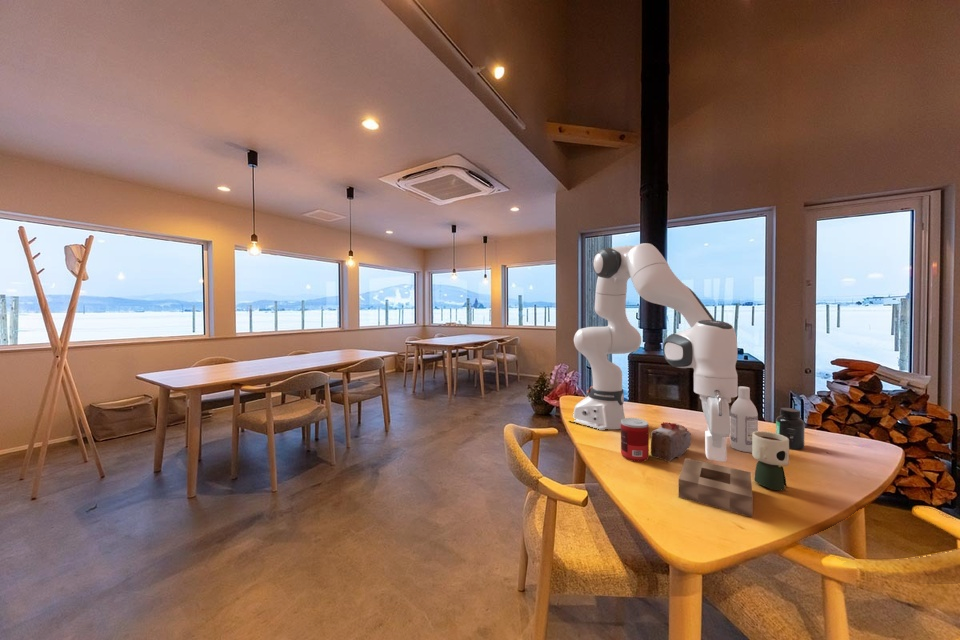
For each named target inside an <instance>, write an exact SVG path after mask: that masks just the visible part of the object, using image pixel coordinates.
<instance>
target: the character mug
mask: <svg viewBox="0 0 960 640" xmlns="http://www.w3.org/2000/svg"><path fill="white" fill-rule="evenodd" d="M789 453H790V449H789V439H788V438H787V437H785V436H783V435H780V434H777V433H776V432H770V431H764V430H760V431H759V430H758V431H756V432H753V433H752V453H751V454H752V457H753V458H754V459H755V460H757V462H756V465H755V471H754V479H753V480H754V482H755V483H757V484H758V485H761V486H762V487H765V488H767V489H770V490H774V491H785V490H786V489H788V487H787V480H786V479H787V478H786V474H785V469H784V467H783V466H788V465H789V463H790V457H789V455H790V454H789Z"/></svg>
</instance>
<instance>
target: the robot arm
mask: <svg viewBox="0 0 960 640" xmlns="http://www.w3.org/2000/svg"><path fill="white" fill-rule="evenodd" d="M592 267H593V272H594V273H595V274H596V276H597V280H596V284H595V285H596V286H595V298H594V312H595V313H596V315H597V316H599V317H600V318H602V319H603V320H607V325H606V326H587V327H583V328H578V330H577V331H576V332H575V334H574V336H573V345H574V347H575V349H576V350H577V352H579V353H580V354H581V355H583V356H584V357H585V358H586V359H587V361H588V363H589V365H590V368H591V376H592V386H590V387H589V388H588V389H587V390H586V393H587V394H588V395H587V396H586V397H584V398H583V399H582V400H580V401H578V403H576V404H575V406H574V409H573V413H574V414H573V413H572V414H573V418H574V419H576V420H574V421H575V422H578V423H581V424H584V425H587V426H590V427H593V428H592V429H594V428H597V429H596V430H598V429H599V430H598V431H606V430H605V429H608V430H621V420H622V419H625V418H626V415H625V412H624V403H625V402H624V401H625V394H624V393H625V392H624V389H623V371H622V369H621V368H620V366H618V365H617V364H616V363H614V362H611V361H610V360H608V355H611V354H612V355H621V354H623V355H624V354H630V353H634V352H637V351H638V350H639V349H640V347H641V345H642V336H641V333H640V332H639V331H638V329H637V328H636V327H634V326H633V325H632V324H631V322H629V319H628V317H627V316H628V315H627V312H626V309H627V308H626V302H627V301H626V300H627V291H628V290H627V289H628V286H627V285H628V280H630V279H631V281H632V282H631V283H632V284H633V287H634V289H635V290H636V292H637V295H639V296H640V297H641V298H642V299H643V300H644V301H646V302H648V303H652V304H656V305H660V306H663V307H667V308H669V309H672V310H675V311H676V312H678V313H679V314H680V315H681V316H683V318H684V320H685V321H686V322H687V323H688V325H689V326H690V328H688V329H685V330H682V331H679V332H675V333H671V334H669V335H668V336H667V337H666V338H665V340H664V342H663V346H662V353H663V357H664V359H665V361H666V362H667V363H668V364H669V365H670V366H671V367H674V368H679V369H689V368H691V369H693V392H694V393H695V394H697V395H699V399H700V401H701V408H702V411H703V412H702V413H703V415H704V417H705V421H706V424H708V427H709V430H710V433H711V435H712V446H713V447H717V448H721V441H722V437H726V438H730V411H731V410H730V406H729V405H730V404H731V403H732V399H734V398H736V397H737V398H738V387H739V386H738V382H739V381H738V372H737V369H736V364H737V361H738V339H737V334H736V333H737V332H736V331H735V328H734V326H733V325H732V324H731V323H728V322H725V321H722V320H715V318H714V317H713V315H712V314H711V313H710V311H709V310H708V309H707V307H706V306H705V305H704V303H703V302H702V301H701V299H700V298H699V297H698V295H696V293H695V292H694V291H693V290H692V289H691V288H690V287H688V286H687V285H686V284H684V283H683V282H682V281H681V279H679V278H678V277H677V275H676V274H675V273H674V272H673V270H672V269H671V267H670V265H669V263H668V261H667V260H666V259H665V257H664V256H663V254H662V253H661V252H660V251H659V249H658V248H657V247H656V246H654V245H653V244H652V243H648V242H647V243H646V242H645V243H644V242H643V243H639V244H637V245H623V246H615V247H604V248H601V249H598V250H597V252H596V253H595V255H594V256H593V261H592ZM587 426H586V427H587ZM590 427H589V428H590ZM708 427H707V428H708Z"/></svg>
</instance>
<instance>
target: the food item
mask: <svg viewBox="0 0 960 640" xmlns="http://www.w3.org/2000/svg"><path fill="white" fill-rule="evenodd" d="M650 434H651V435H650V455H651V457H654V458H657V459H660V460H664V461H666V462H668V463H669V462H671V461H672V460H673V459H675V458H681V457H682V456H683V454H685V453H686V452H687V450H688V449H690V447H691V443H692V437H691V435H692V433H691V432H690V431H689V430H688V429H687V428H686V427H685V426H684V425H682V424H679V423H674V422H671V421H670V422H669V421H668V422H664V421H663V422H662V423H660V427H658V428H657V429H654V430H652V431H651V432H650Z"/></svg>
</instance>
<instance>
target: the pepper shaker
mask: <svg viewBox="0 0 960 640" xmlns="http://www.w3.org/2000/svg"><path fill="white" fill-rule="evenodd" d="M706 424H707V423H706ZM704 448H705V450H704V452H705V456H706V459H707V460H709V461H716V462H722V463H726V462H727V437H722V441H721V448H717V447H713V446H712V435H711V433H710V430H709V427H708V424H707V430H705V431H704Z"/></svg>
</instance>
